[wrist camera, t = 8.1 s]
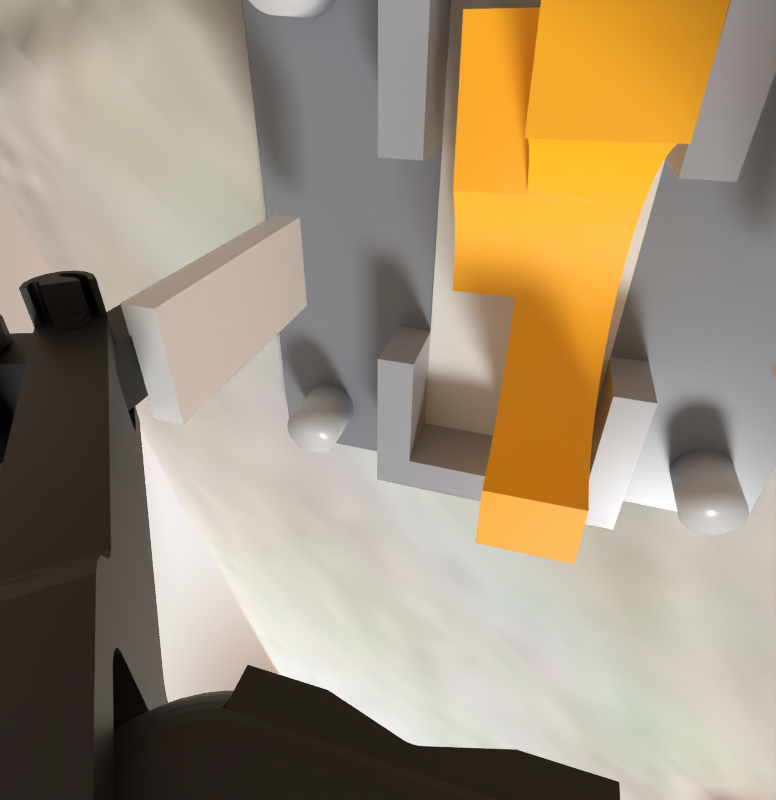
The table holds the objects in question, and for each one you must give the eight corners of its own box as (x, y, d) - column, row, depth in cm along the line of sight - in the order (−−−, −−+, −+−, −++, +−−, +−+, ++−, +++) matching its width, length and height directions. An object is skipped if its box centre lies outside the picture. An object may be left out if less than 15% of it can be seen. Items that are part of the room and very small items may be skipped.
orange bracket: (485, 14, 14) (427, -1, 8) (671, 10, 13) (733, -10, 7) (456, 405, 20) (413, 529, 15) (575, 423, 19) (574, 564, 14)
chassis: (1088, -167, 10) (1276, -244, 8) (736, 505, 20) (761, 579, 18) (247, -118, 14) (167, -156, 12) (300, 421, 25) (264, 470, 22)
